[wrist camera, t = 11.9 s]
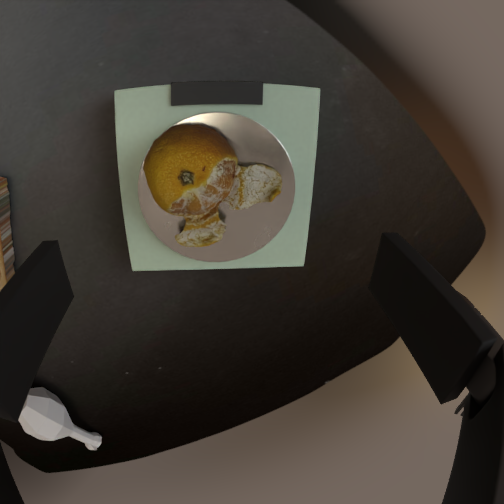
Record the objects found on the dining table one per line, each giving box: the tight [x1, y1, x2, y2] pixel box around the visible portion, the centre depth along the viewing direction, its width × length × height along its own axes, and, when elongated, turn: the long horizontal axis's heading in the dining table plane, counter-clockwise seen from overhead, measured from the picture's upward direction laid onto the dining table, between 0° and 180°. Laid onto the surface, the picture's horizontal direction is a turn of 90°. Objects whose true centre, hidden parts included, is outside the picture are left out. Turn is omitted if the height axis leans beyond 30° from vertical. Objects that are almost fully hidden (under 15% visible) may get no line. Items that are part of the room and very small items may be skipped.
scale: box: [114, 81, 320, 271], centre depth 22 cm, size 14×14×3 cm
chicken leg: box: [19, 387, 102, 450], centre depth 34 cm, size 8×18×8 cm, turn 19°
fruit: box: [143, 124, 282, 247], centre depth 18 cm, size 8×8×4 cm
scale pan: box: [138, 111, 295, 262], centre depth 21 cm, size 11×11×1 cm
